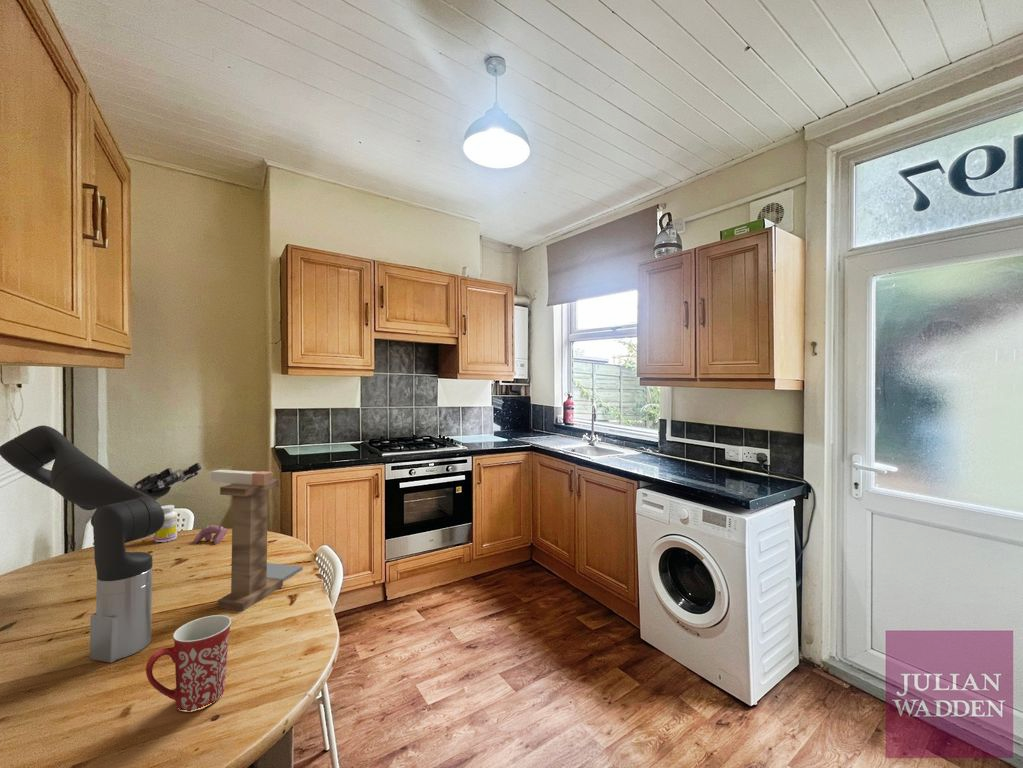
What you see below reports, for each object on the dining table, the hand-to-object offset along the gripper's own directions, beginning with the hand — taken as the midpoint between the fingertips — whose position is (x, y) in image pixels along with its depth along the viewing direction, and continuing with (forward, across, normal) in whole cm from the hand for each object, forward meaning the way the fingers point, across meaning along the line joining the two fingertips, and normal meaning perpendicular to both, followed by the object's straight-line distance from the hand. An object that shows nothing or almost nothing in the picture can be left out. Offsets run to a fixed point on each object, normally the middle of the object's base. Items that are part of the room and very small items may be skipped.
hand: (185, 468), depth 122 cm
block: (+17, 0, +12) cm, 21 cm away
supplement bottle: (-55, +28, +11) cm, 62 cm away
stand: (+4, 0, +42) cm, 42 cm away
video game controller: (-39, +31, +20) cm, 53 cm away
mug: (+24, -36, +53) cm, 68 cm away
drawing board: (0, +14, +39) cm, 42 cm away
